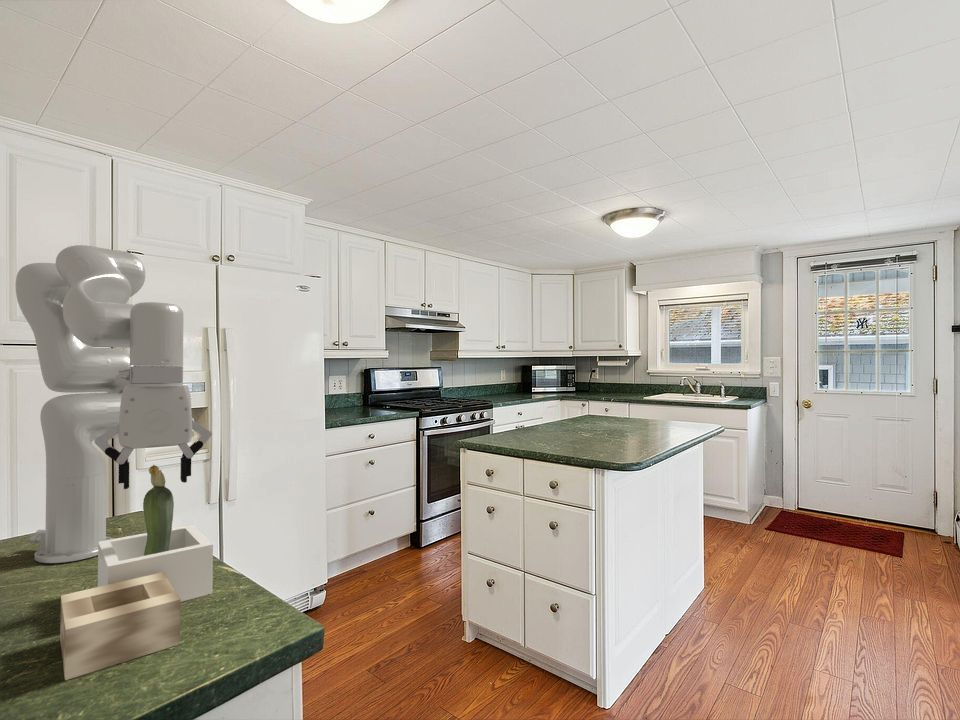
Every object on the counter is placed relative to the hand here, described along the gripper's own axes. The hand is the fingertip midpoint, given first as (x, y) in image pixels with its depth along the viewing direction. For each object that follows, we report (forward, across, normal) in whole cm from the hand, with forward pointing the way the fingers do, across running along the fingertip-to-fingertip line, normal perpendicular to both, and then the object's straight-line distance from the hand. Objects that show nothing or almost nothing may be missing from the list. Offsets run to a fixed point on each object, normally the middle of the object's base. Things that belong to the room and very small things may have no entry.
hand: (155, 483), depth 84 cm
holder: (+18, -4, -16) cm, 24 cm away
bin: (+18, 0, 0) cm, 18 cm away
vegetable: (+17, 0, 0) cm, 17 cm away
